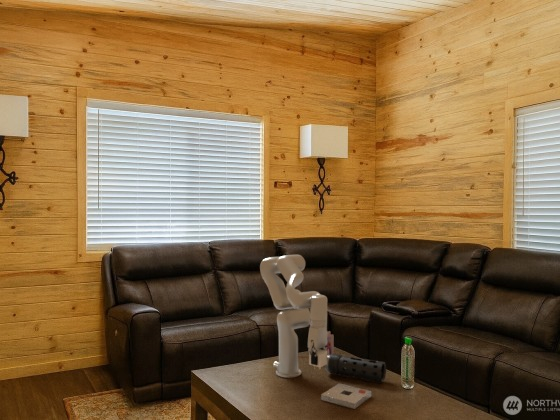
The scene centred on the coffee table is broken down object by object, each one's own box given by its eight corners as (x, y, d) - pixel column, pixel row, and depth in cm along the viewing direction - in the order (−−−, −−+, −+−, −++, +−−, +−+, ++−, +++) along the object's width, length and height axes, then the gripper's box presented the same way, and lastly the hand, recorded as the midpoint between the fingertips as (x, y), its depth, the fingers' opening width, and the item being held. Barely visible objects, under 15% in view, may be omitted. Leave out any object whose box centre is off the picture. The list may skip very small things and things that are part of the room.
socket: (321, 400, 215) (321, 393, 215) (339, 388, 228) (339, 382, 228) (354, 409, 206) (354, 402, 206) (371, 396, 219) (371, 389, 219)
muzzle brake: (380, 387, 230) (380, 364, 230) (324, 376, 244) (324, 355, 243) (386, 380, 239) (386, 359, 238) (331, 370, 252) (331, 350, 252)
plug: (305, 368, 226) (305, 350, 226) (311, 364, 231) (311, 347, 230) (320, 372, 221) (320, 354, 221) (326, 368, 226) (326, 351, 225)
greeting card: (311, 362, 265) (311, 334, 264) (313, 357, 272) (313, 330, 272) (333, 363, 263) (333, 335, 263) (334, 358, 270) (334, 331, 270)
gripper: (321, 317, 233) (320, 355, 234) (301, 325, 220) (300, 366, 220) (335, 320, 229) (334, 359, 230) (315, 328, 215) (315, 370, 216)
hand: (317, 362), depth 225 cm, fingers closed on plug, 5 cm apart
